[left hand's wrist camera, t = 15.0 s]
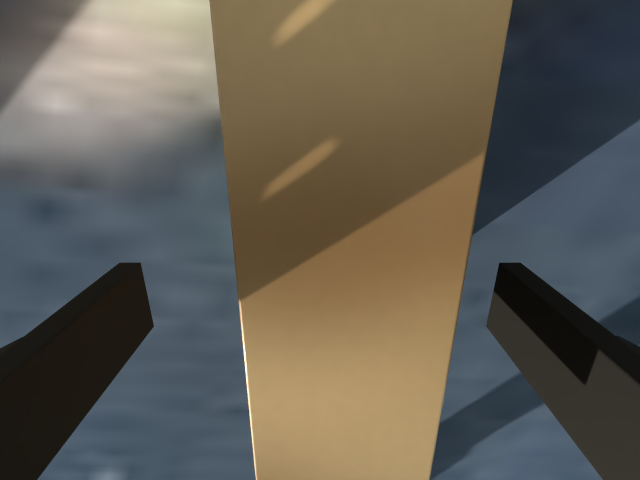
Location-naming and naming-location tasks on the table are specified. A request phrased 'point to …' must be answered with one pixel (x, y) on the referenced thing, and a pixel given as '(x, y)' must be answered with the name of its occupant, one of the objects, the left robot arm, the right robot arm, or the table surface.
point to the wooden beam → (352, 218)
